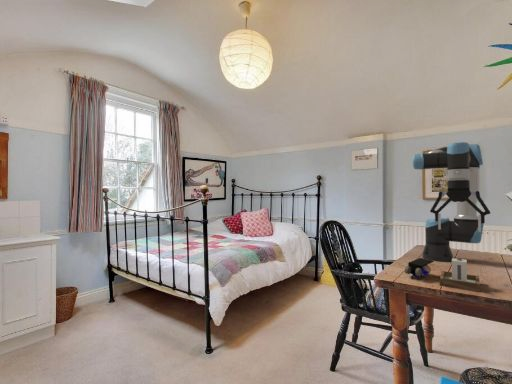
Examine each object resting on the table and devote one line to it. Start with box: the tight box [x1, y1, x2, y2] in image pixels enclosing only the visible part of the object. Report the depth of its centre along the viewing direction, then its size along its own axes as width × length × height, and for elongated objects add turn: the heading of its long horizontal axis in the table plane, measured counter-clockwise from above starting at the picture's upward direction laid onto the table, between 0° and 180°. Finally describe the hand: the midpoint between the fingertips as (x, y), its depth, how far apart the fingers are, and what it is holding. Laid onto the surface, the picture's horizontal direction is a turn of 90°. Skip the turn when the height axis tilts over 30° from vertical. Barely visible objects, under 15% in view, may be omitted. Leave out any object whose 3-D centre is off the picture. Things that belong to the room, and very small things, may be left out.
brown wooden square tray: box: [439, 270, 481, 293], centre depth 116 cm, size 13×13×3 cm
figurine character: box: [404, 257, 434, 281], centre depth 127 cm, size 7×8×15 cm
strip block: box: [451, 257, 468, 282], centre depth 116 cm, size 5×5×10 cm
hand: (458, 230), depth 116 cm, fingers open, 13 cm apart
